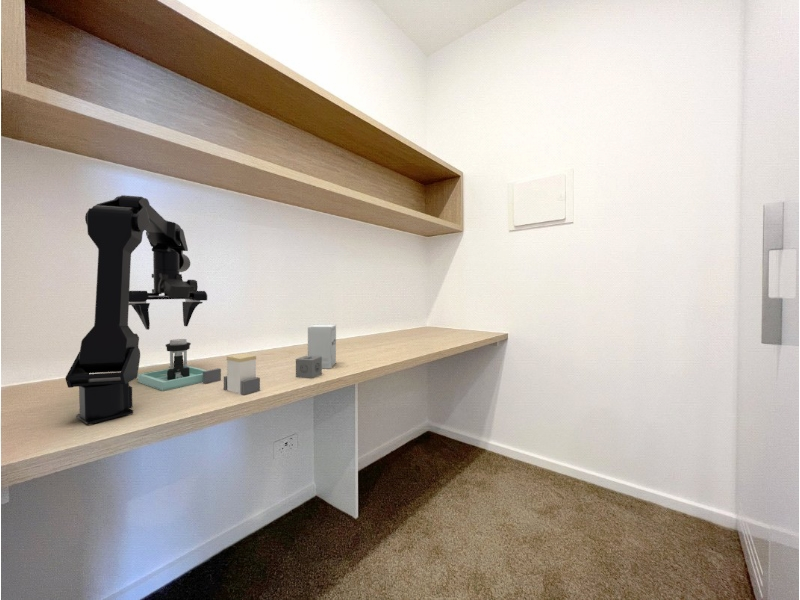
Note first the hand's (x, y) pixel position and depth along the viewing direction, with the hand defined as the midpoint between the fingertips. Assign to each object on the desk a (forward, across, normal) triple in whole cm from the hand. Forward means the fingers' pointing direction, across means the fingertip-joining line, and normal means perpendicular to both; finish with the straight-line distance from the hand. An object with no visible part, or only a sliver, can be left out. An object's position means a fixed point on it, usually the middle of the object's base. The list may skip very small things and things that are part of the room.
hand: (167, 327), depth 89 cm
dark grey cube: (+13, +21, -32) cm, 41 cm away
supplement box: (+13, +31, -27) cm, 43 cm away
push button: (+13, -2, -8) cm, 15 cm away
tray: (+13, -2, -8) cm, 15 cm away
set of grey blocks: (+13, +3, -25) cm, 28 cm away
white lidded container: (+13, +3, -29) cm, 32 cm away
